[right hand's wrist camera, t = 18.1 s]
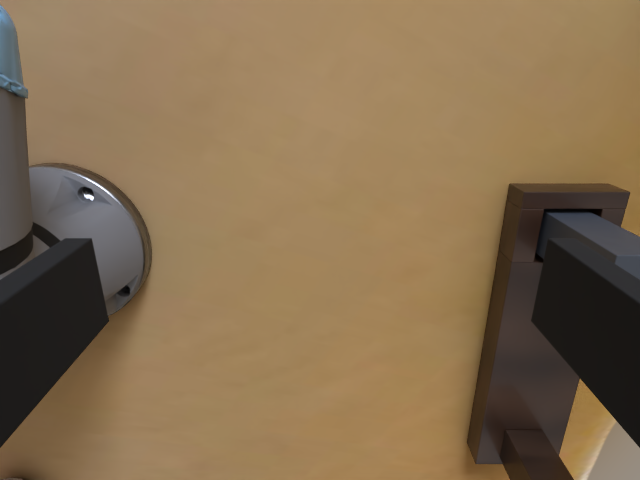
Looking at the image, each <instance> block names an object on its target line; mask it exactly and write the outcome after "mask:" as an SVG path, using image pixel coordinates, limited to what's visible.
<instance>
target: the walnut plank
mask: <svg viewBox="0 0 640 480" xmlns="http://www.w3.org/2000/svg"><path fill="white" fill-rule="evenodd" d="M629 195H630V192H628V191H626V190H623V189H620V188H618V187H615V186H613V185H610V184H510V185H509V191H508V197H507V203H506V209H505V215H504V221H503V227H502V233H501V239H500V246H499V252H498V258H497V264H496V270H495V276H494V282H493V289H492V295H491V301H490V307H489V313H488V319H487V325H486V331H485V337H484V343H483V349H482V355H481V361H480V367H479V374H478V380H477V386H476V392H475V398H474V404H473V410H472V416H471V422H470V428H469V434H468V440H467V443H468V446H469V448H470V451H471V453H472V456H473V458H474V461H475V463H476V464H503V465H504V468H505V470H506V472H507V474H508V476H509V478H510V480H574V479H573V478H572V476H571V474H570V473H569V471H568V470H567V468H566V466H565V465H564V463H563V462H562V460H561V458H560V457H559V453H560V449H561V445H562V442H563V438H564V434H565V431H566V427H567V423H568V420H569V416H570V412H571V409H572V405H573V401H574V397H575V394H576V390H577V386H578V383H579V379H580V378H579V376H578V375H577V374H576V373H575V372H574V371H573V369H572V368H571V367H570V366H569V365H568V364H567V362H566V361H565V360H564V359H563V358H562V357H561V355H560V354H559V353H558V352H557V351H556V350H555V348H554V347H553V346H552V345H551V344H550V343H549V341H548V340H547V339H546V338H545V337H544V336H543V334H542V333H541V332H540V331H539V330H538V329H537V327H536V326H535V325H534V324H533V323H532V322H531V318H532V314H533V309H534V304H535V299H536V294H537V290H538V285H539V280H540V275H541V270H542V265H543V261H544V259H543V258H542V257H540V256H539V255H538V254H537V253H536V247H537V242H538V237H539V232H540V227H541V222H542V217H543V212H544V209H586V210H588V211H589V212H591V213H593V214H595V215H597V216H599V217H601V218H603V219H605V220H607V221H609V222H611V223H613V224H615V225H617V226H619V227H621V224H622V220H623V217H624V213H625V209H626V206H627V202H628V199H629Z"/></svg>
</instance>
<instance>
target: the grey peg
mask: <svg viewBox="0 0 640 480" xmlns="http://www.w3.org/2000/svg"><path fill="white" fill-rule="evenodd" d="M548 238H575V239H577V240H578V241H580V242H582V243H583V244H585V245H586V246H588V247H589V248H591V249H592V250H594V251H596V252H597V253H599V254H600V255H602V256H603V257H605V258H607V259H608V260H610V261H611V262H613V263H614V264H616V265H617V266H619V267H621V268H622V269H624V270H625V271H627V272H628V273H630V274H632V275H633V276H635V277H636V278H638V279H639V280H640V237H639V236H637V235H635V234H633V233H631V232H629V231H627V230H625V229H623V228H621V227H619V226H617V225H615V224H613V223H611V222H609V221H607V220H605V219H603V218H601V217H599V216H597V215H595V214H593V213H591V212H589V211H588V210H586V209H544V212H543V217H542V222H541V227H540V232H539V237H538V242H537V247H536V253H537V254H538V255H539V256H540V257H542V258H543V259H544V256H545V251H546V246H547V241H548Z"/></svg>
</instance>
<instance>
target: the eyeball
mask: <svg viewBox="0 0 640 480" xmlns="http://www.w3.org/2000/svg"><path fill="white" fill-rule="evenodd" d="M2 480H23V479H21V478H6V479H2Z"/></svg>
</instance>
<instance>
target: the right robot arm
mask: <svg viewBox="0 0 640 480" xmlns="http://www.w3.org/2000/svg"><path fill="white" fill-rule="evenodd" d="M25 98H28V90H27V89H26V88H25V87H24V84H23V77H22V69H21V62H20V55H19V47H18V39H17V32H16V28H15V26H14V23H13V21H12V19H11V17H10V16H9V14H8V13H7V12H6V10H5V9H4V8H3V7H2V6H1V5H0V447H1V446H2V445H3V444H4V443H5V442H6V440H7V439H8V438H9V437H10V436H11V435H12V433H13V432H14V431H15V430H16V429H17V428H18V426H19V425H20V424H21V423H22V422H23V421H24V419H25V418H26V417H27V416H28V415H29V414H30V412H31V411H32V410H33V409H34V408H35V407H36V405H37V404H38V403H39V402H40V401H41V400H42V398H43V397H44V396H45V395H46V394H47V393H48V391H49V390H50V389H51V388H52V387H53V386H54V384H55V383H56V382H57V381H58V380H59V379H60V378H61V376H62V375H63V374H64V373H65V372H66V371H67V369H68V368H69V367H70V366H71V365H72V364H73V362H74V361H75V360H76V359H77V358H78V357H79V355H80V354H81V353H82V352H83V351H84V350H85V348H86V347H87V346H88V345H89V344H90V343H91V341H92V340H93V339H94V338H95V337H96V336H97V334H98V333H99V332H100V331H101V330H102V329H103V327H104V326H105V325H106V324H107V323H108V322H109V318H108V316H109V315H111V314H113V313H115V312H117V311H118V310H120V309H121V308H122V307H124V306H125V305H126V304H127V303H128V302H129V301H130V300H131V299H132V297H133V296H134V295H135V294H136V293H137V292H138V290H139V289H140V288H141V286H142V285H143V283H144V281H145V280H146V278H147V275H148V272H149V269H150V265H151V253H152V251H151V242H150V237H149V233H148V230H147V227H146V225H145V222H144V220H143V218H142V216H141V215H140V213H139V211H138V210H137V208H136V207H135V206H134V204H133V203H132V202H131V200H130V199H129V198H128V197H127V196H126V195H125V194H124V193H123V192H122V191H121V190H120V189H119V188H117V187H116V186H115V185H114V184H112V183H111V182H109V181H108V180H106V179H105V178H103V177H101V176H100V175H98V174H96V173H94V172H91V171H89V170H86V169H84V168H81V167H77V166H73V165H68V164H60V163H45V164H37V165H33V166H29V163H28V148H27V134H26V112H25ZM531 322H532V323H533V324H534V325H535V326H536V327H537V329H538V330H539V331H540V332H541V333H542V334H543V336H544V337H545V338H546V339H547V340H548V341H549V343H550V344H551V345H552V346H553V347H554V348H555V350H556V351H557V352H558V353H559V354H560V355H561V357H562V358H563V359H564V360H565V361H566V362H567V364H568V365H569V366H570V367H571V368H572V369H573V371H574V372H575V373H576V374H577V375H578V376H579V378H580V379H581V380H582V381H583V382H584V383H585V384H586V386H587V387H588V388H589V389H590V390H591V391H592V393H593V394H594V395H595V396H596V397H597V398H598V400H599V401H600V402H601V403H602V404H603V405H604V407H605V408H606V409H607V410H608V411H609V412H610V414H611V415H612V416H613V417H614V418H615V419H616V421H617V422H618V423H619V424H620V425H621V426H622V428H623V429H624V430H625V431H626V432H627V433H628V434H629V436H630V437H631V438H632V439H633V440H634V442H635V443H636V444H637V445H638V446H639V447H640V280H639V279H638V278H636V277H635V276H633V275H632V274H630V273H628V272H627V271H625V270H624V269H622V268H621V267H619V266H617V265H616V264H614V263H613V262H611V261H610V260H608V259H607V258H605V257H603V256H602V255H600V254H599V253H597V252H596V251H594V250H592V249H591V248H589V247H588V246H586V245H585V244H583V243H582V242H580V241H578V240H577V239H575V238H548V241H547V246H546V251H545V256H544V261H543V265H542V270H541V275H540V280H539V285H538V290H537V294H536V299H535V304H534V309H533V314H532V318H531Z"/></svg>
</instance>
